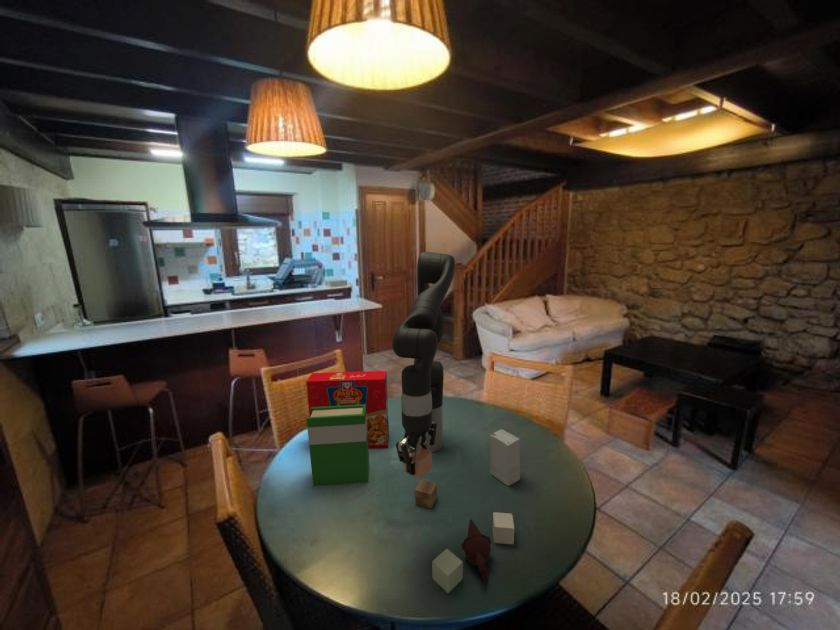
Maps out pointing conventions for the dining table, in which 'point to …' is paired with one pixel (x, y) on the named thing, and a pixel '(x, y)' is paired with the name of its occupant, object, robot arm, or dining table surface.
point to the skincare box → (505, 457)
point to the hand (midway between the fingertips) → (418, 467)
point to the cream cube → (503, 528)
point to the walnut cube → (426, 494)
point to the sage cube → (447, 570)
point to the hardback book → (338, 445)
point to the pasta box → (355, 398)
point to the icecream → (477, 549)
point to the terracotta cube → (422, 462)
